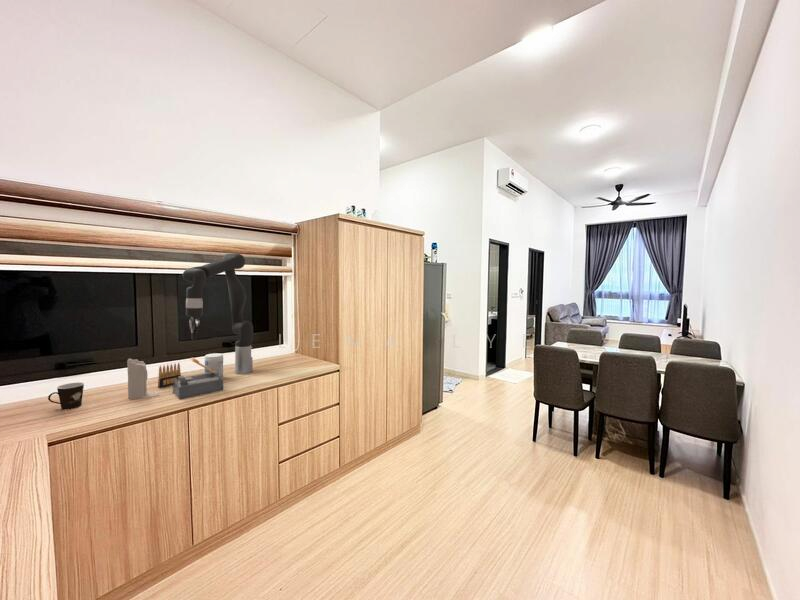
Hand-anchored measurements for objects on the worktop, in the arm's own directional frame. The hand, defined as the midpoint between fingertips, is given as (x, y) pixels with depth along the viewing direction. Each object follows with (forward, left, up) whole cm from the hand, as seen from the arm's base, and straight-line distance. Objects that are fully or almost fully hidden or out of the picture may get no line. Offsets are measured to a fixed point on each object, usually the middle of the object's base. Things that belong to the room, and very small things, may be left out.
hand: (194, 339), depth 171 cm
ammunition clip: (+8, -19, -28) cm, 35 cm away
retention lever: (-4, +1, -15) cm, 16 cm away
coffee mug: (+48, -12, -28) cm, 57 cm away
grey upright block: (+20, -8, -28) cm, 35 cm away
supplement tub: (-13, -15, -28) cm, 34 cm away
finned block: (-1, +1, -28) cm, 28 cm away
